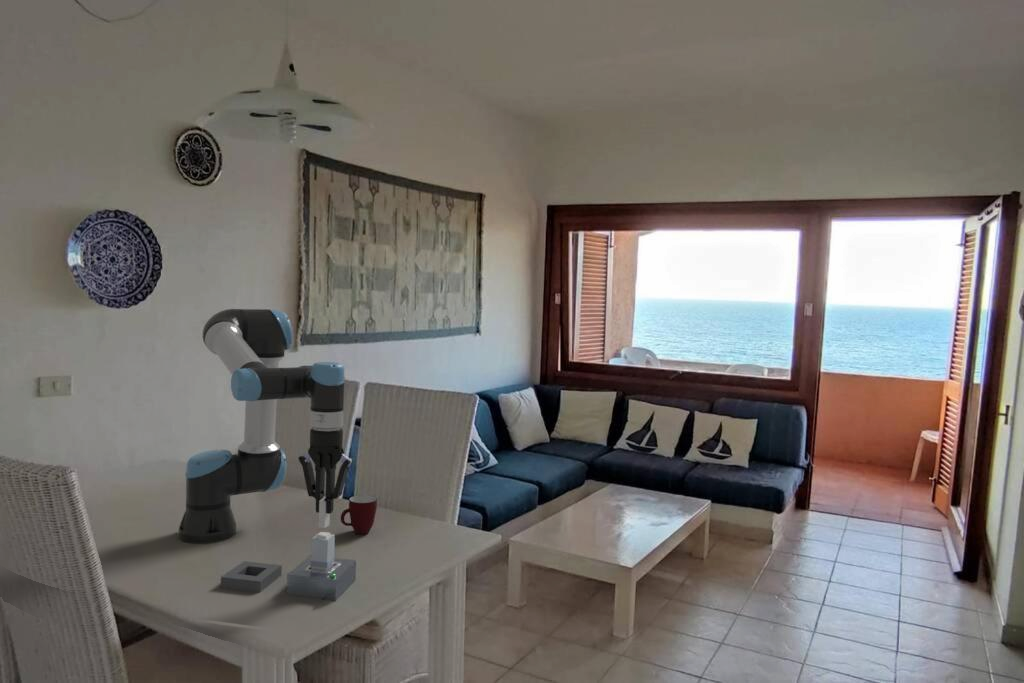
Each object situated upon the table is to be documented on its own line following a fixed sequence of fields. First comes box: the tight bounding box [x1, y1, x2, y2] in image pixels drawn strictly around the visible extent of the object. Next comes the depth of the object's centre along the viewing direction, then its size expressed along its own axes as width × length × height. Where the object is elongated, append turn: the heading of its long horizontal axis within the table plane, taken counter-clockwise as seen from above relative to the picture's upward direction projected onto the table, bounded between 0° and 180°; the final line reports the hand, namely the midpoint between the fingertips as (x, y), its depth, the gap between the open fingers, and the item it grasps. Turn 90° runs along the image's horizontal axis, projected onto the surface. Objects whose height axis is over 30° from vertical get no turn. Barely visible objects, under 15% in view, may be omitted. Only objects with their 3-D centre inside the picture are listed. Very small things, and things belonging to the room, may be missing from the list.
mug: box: [340, 494, 378, 535], centre depth 203 cm, size 10×8×10 cm
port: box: [286, 555, 357, 602], centre depth 164 cm, size 12×12×6 cm
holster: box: [220, 560, 283, 593], centre depth 165 cm, size 10×10×3 cm
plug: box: [310, 531, 336, 572], centre depth 164 cm, size 4×4×13 cm
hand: (324, 526), depth 164 cm, fingers closed
